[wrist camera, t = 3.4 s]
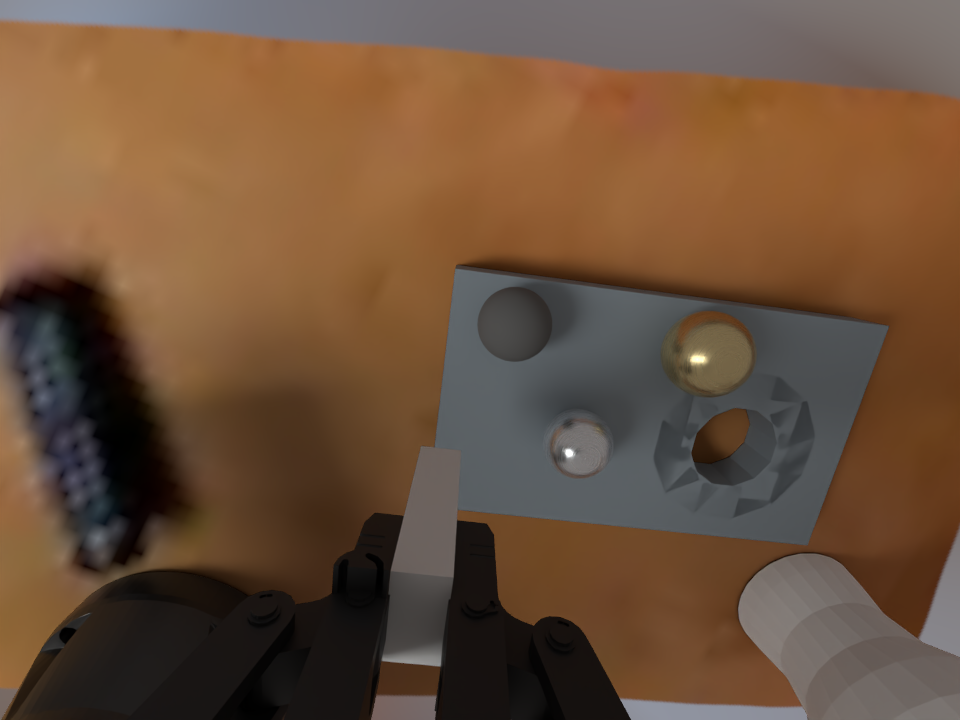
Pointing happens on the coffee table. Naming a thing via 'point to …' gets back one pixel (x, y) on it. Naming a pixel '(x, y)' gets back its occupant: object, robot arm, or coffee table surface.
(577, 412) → the steel ball
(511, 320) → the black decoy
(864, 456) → the coffee table surface
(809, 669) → the cup
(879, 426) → the coffee table surface
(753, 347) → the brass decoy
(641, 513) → the plate
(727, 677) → the coffee table surface
